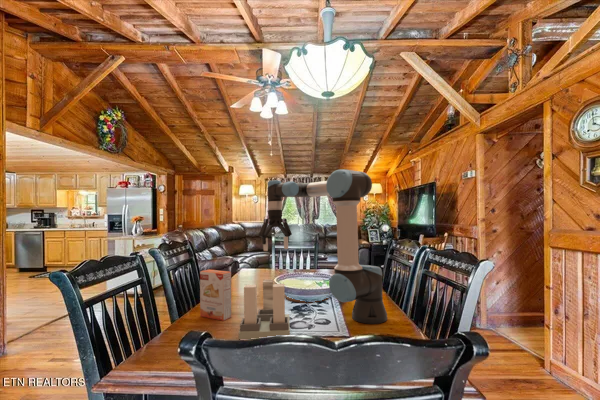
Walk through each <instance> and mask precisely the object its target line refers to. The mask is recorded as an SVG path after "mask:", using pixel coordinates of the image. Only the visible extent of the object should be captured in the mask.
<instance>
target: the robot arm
mask: <svg viewBox="0 0 600 400" xmlns="http://www.w3.org/2000/svg"><path fill="white" fill-rule="evenodd" d="M372 189H373V181H372V178H371V177H370V176H369V174H368V173H366V172H363V171H358V170H353V169H352V170H351V169H347V168H346V169H337V170H334V171H332V173H330V175H329V176H328V178H327V180H322V181H315V182H306V183H304V182H295V181H285V182H282V181H281V180H279V179H278V180H277V179H276V180H275V179H274V180H269V181H267V210H268V211H267V214H268V218H264V219H263V223H262V226H261V229H260V230H259V233H258V237H259V238H261V240H262V241H261V243H262V245H263V251H264V252H268V251H269V245H268V243H269V241H268V236H269V233H270V232H271V231H272V229H273V228H278V229H279V230H280V231H281V233H282V234H283V235H284V236H283V249H284V250H288V249H289V242H290V237H291V236H292V235H293V234H292V231H291V229H290V226H289V224H288V220H287V218H285V217H284V218H283V210H282V209H283V198H308V199H309V198H314V197H327V196H328V197H331V199H332V202H331V203H332V204H333V205H335V207H336V209H335V210H336V216H335V217H336V218H335V219H336V239H337V241H336V245H337V246H336V248H337V249H336V250H337V264H336V265H335V266H334V268H333V269H334V274H332V275H331V277H330V278H329V280H328V281H329V282H328V287H329V292H330V293H331V295H332V296H333V297H334V298H335V299H336V300H337V301H339V302H341V303H349V302H354V301H355V302H354V303H353V304H354V305H353V309H352V310H351V311H352V312H351V316H352V319H353V320H354V321H356V322H358V323H363V324H370V325H375V324H376V325H377V324H383V323H385V322H387V321H388V313H387V310H386V307H385V304H384V300H383V271H382V268H381V267H380V266H376V265H369V264H367V265H366V264H360V263H359V262H360V261H359V236H358V233H359V232H358V205H359V204H360V203H361V198H363V197H366V196H367V195H369V194H370V193H371V191H372Z"/></svg>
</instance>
